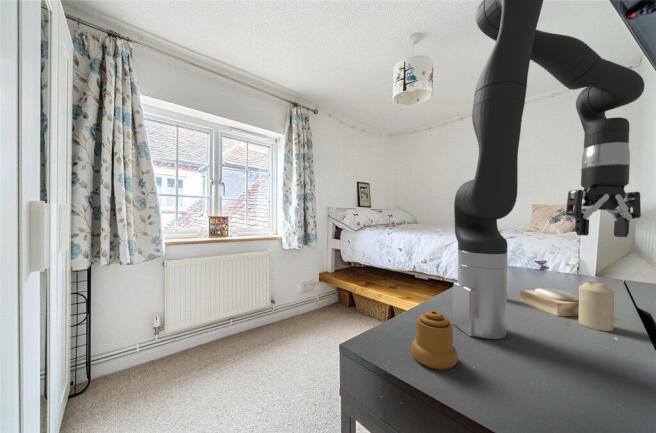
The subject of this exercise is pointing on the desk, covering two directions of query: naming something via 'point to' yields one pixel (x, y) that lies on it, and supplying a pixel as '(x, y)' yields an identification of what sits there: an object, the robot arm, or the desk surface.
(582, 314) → the candle
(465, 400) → the desk surface
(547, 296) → the candle stand
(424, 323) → the ornamental finial
